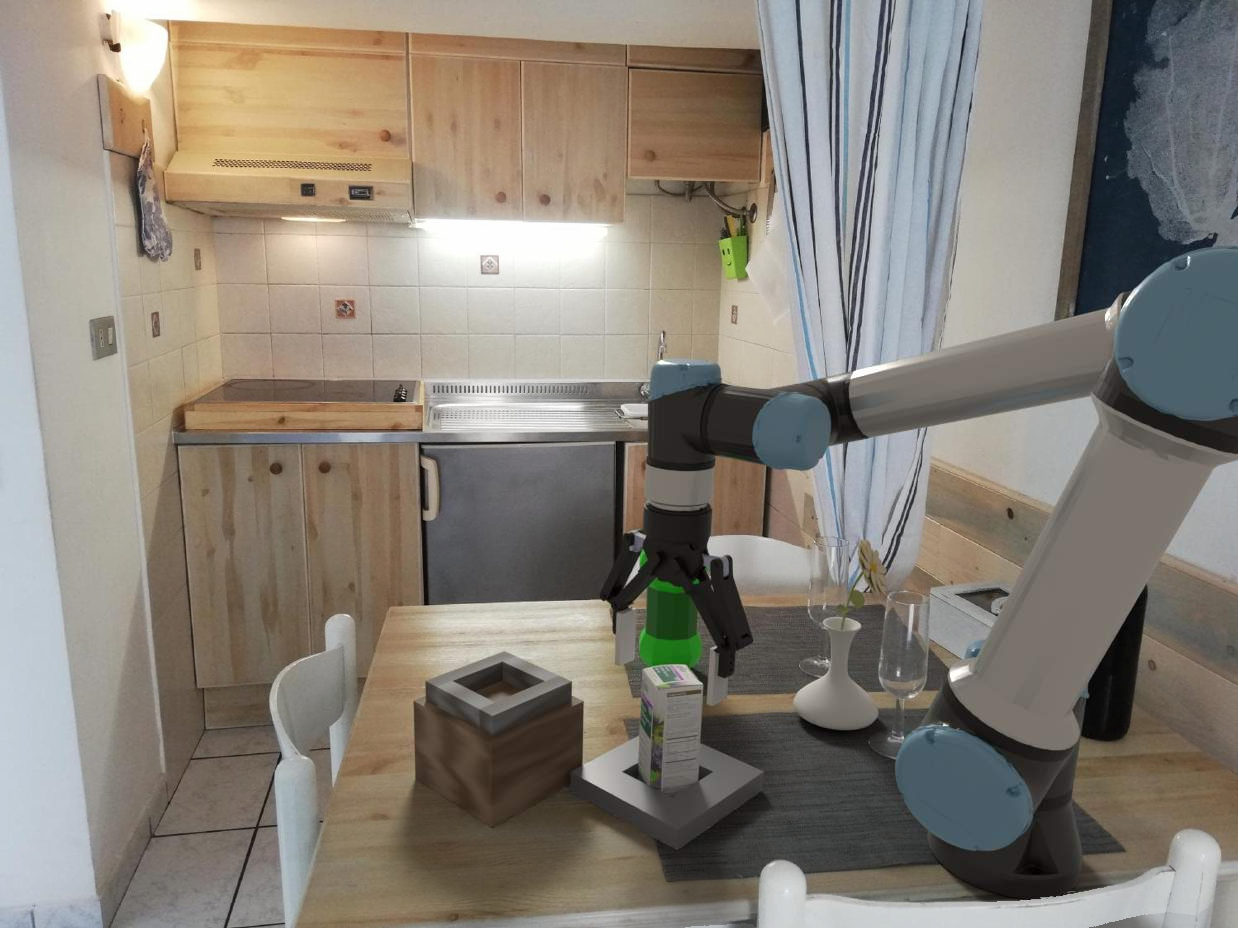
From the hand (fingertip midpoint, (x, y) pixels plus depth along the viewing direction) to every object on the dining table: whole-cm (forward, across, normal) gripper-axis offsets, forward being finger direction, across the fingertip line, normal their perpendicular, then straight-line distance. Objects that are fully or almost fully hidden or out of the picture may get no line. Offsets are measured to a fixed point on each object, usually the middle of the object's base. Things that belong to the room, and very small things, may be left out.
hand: (668, 680), depth 107 cm
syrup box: (+14, -1, 0) cm, 14 cm away
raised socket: (+14, +15, +12) cm, 24 cm away
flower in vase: (+14, -6, -31) cm, 34 cm away
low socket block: (+14, -1, 0) cm, 14 cm away
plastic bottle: (+14, +20, -26) cm, 36 cm away
